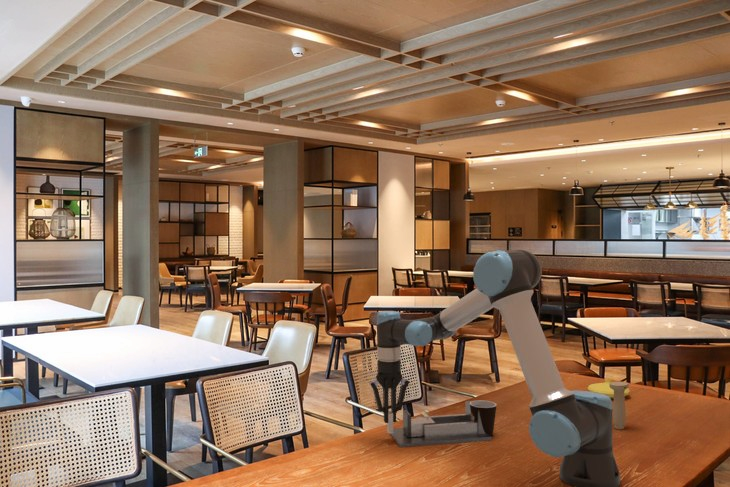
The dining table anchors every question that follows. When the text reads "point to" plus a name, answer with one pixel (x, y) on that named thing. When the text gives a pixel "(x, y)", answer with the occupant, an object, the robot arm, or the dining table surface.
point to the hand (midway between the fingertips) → (390, 432)
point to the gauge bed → (423, 441)
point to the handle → (619, 403)
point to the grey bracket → (415, 424)
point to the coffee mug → (484, 414)
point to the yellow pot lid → (604, 388)
